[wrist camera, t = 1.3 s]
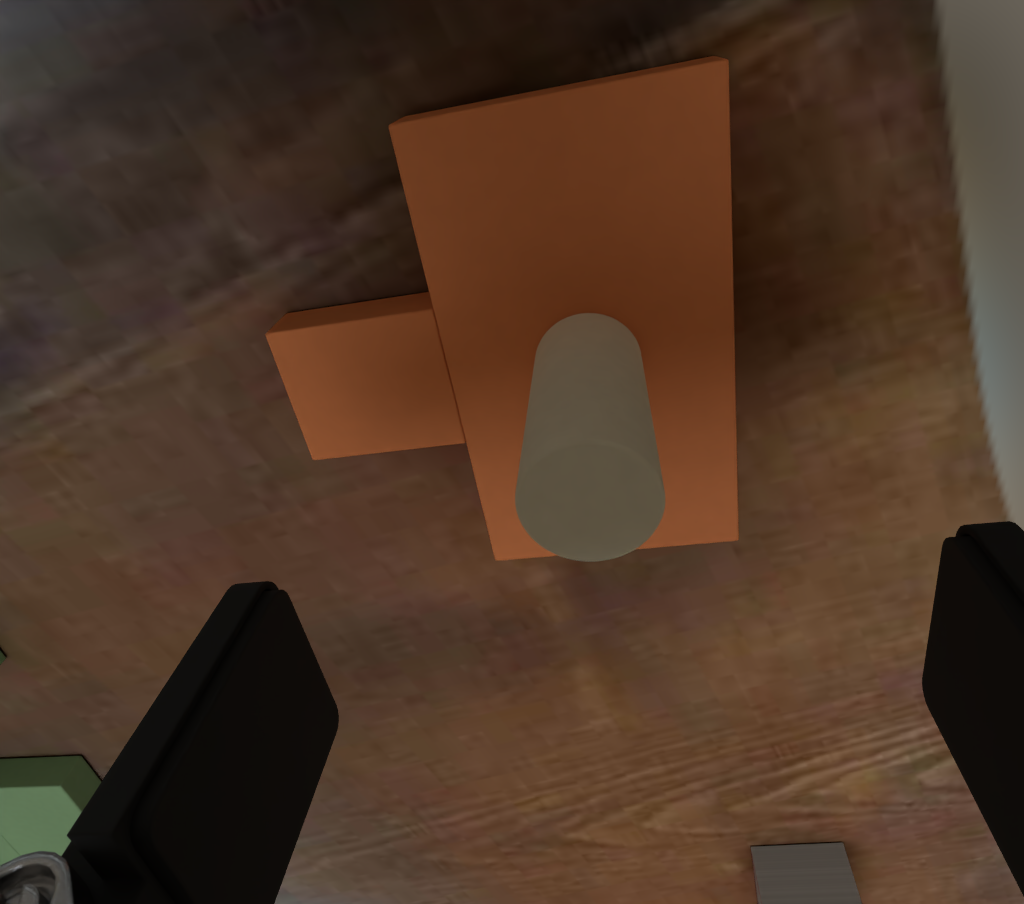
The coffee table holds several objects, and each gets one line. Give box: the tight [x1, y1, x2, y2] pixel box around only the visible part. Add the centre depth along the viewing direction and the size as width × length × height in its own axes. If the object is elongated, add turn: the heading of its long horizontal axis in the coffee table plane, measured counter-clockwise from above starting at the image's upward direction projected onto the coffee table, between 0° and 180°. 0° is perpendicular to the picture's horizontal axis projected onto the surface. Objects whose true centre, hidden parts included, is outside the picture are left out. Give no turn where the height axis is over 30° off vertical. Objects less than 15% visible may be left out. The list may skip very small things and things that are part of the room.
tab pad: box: [266, 56, 739, 561], centre depth 16 cm, size 12×11×8 cm
